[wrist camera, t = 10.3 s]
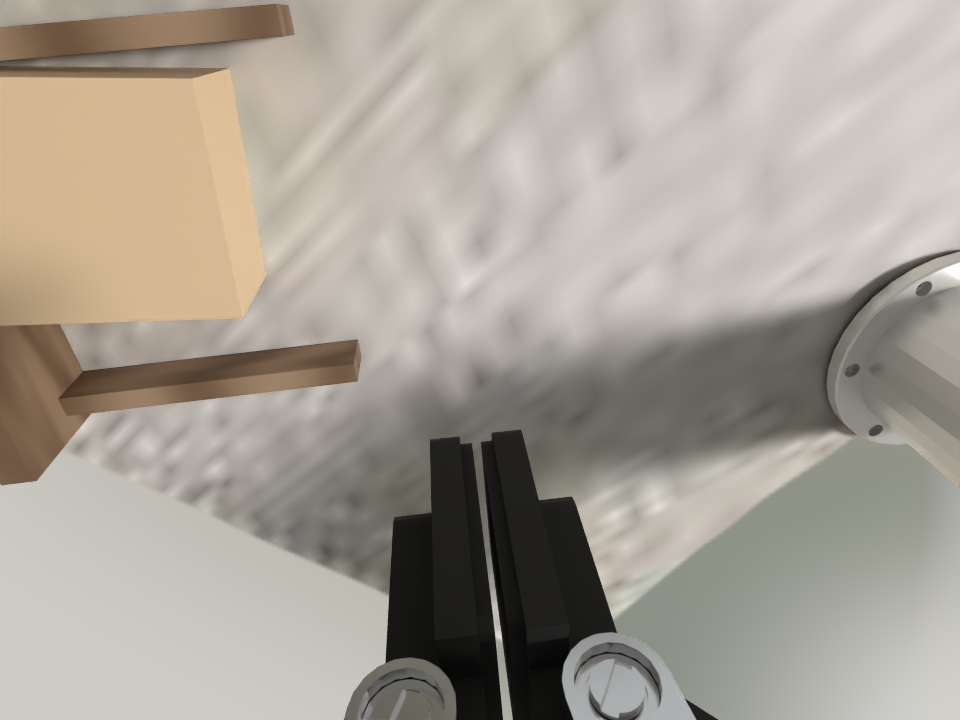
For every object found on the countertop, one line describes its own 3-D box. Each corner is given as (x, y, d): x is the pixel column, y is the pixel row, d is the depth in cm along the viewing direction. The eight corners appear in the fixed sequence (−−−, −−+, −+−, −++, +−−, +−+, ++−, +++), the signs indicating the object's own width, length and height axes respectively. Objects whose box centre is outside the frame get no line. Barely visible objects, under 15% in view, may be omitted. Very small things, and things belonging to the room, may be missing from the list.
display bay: (282, -26, 22) (244, -39, 17) (364, 372, 32) (355, 441, 26) (-142, 9, 22) (-314, 6, 16) (69, 407, 31) (1, 485, 26)
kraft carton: (231, 68, 24) (192, 78, 20) (267, 273, 29) (242, 318, 24) (-32, 65, 23) (-133, 75, 19) (49, 278, 28) (-17, 326, 23)
